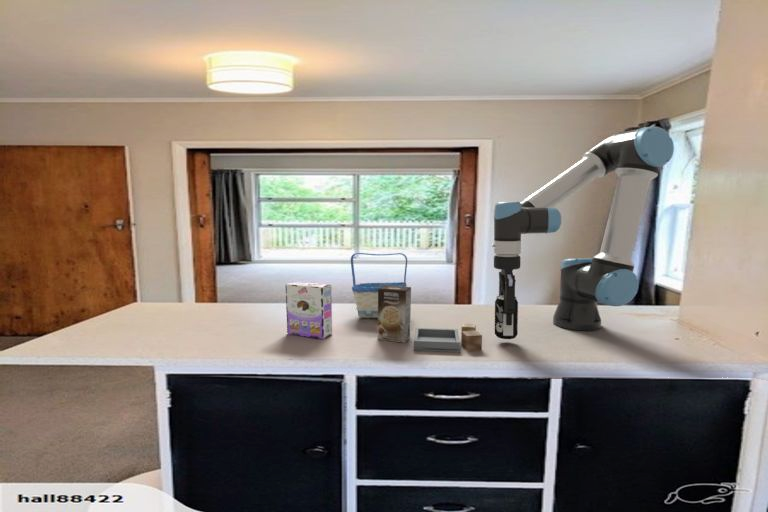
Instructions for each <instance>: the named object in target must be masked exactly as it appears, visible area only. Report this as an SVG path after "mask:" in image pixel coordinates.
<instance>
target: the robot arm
mask: <svg viewBox="0 0 768 512" xmlns="http://www.w3.org/2000/svg"><path fill="white" fill-rule="evenodd" d="M674 148H675V147H674V140H673V138H672V137H671V135H670V134H669V132H668V131H667V130H665V129H664V128H662V127H660V126H643V127H641V128H636V129H632V130H628V131H622V132H617V133H615V134H612V135H610V136H608V137H606V138H605V139H604V140H602V141H600V142H599V143H597V144H596V145H595V146H594V147H591V149H589V150H587V151H586V152H585V153H583V155H582V156H581V159H580V160H579V161H578V162H576V163H574V164H573V165H572V166H570V167H569V168H567V169H566V170H565V171H563V172H562V173H560V174H559V175H558V176H556V177H555V178H554V179H552V180H551V181H549V182H548V183H547V184H545V185H544V186H541V188H539V189H537V190H536V191H535V192H534V193H532V194H531V195H529V196H528V197H527V198H525V199H524V200H522V201H498V202H496V203H495V205H494V211H493V225H494V226H493V231H494V233H493V234H494V235H493V237H494V238H493V239H494V240H493V242H494V243H492V244H491V246H492V248H493V253H494V254H495V255H494V256H493V268H494V269H497V270H501V271H499V272H498V278H499V279H498V280H499V281H498V296H499V295H504V312H502V314H503V336H513V314H514V313H515V297H516V281H517V280H516V277H515V276H516V275H515V274H513V273H514V272H513V271H514V270H519V269H520V268H521V256H520V254H521V253H522V251H521V250H522V235H525V234H526V235H527V234H528V235H529V234H551V233H556V232H558V230H560V228H561V225H562V215H561V212H560V210H558V208H556V207H557V206H558V205H559V204H561V203H562V202H564V201H565V200H566V199H568V198H569V197H571V196H573V195H574V194H575V193H577V192H578V191H580V190H581V189H582V188H584V187H585V186H587V185H588V184H589V183H590V182H592V181H594V180H595V179H601V178H603V177H604V176H606V175H608V174H609V173H612V172H614V173H616V175H617V177H618V179H617V182H616V186H615V190H614V194H613V198H612V202H611V206H610V209H609V210H610V211H609V215H608V217H607V222H606V225H605V226H606V227H605V230H604V234H603V237H602V238H603V239H602V242H601V247H600V249H599V252H598V253H597V254H595V255H594V256H593V257H592V258H591V257H588V258H587V257H585V258H584V257H583V258H580V257H579V258H565V259H563V260H562V261H561V267H560V271H559V272H560V281H559V282H560V284H559V285H560V286H559V289H560V290H559V302H558V304H557V305H556V309H555V311H554V313H553V317H552V323H553V324H554V325H555V326H557V327H560V328H564V329H568V330H574V331H583V332H584V331H585V332H586V331H597V330H599V329H601V328H602V319H601V315H600V311H599V307H598V304H597V303H600V304H601V305H604V306H610V307H621V306H622V307H623V306H625V305H626V304H627V303H629V302H631V301H632V300H633V299H634V297H635V296H636V295H637V293H638V290H639V280H638V279H637V278H638V277H637V275H636V273H634V268H635V263H633V261H632V260H631V258H632V257H631V256H632V254H633V249H634V245H635V241H636V238H637V234H638V230H639V227H640V223H641V219H642V214H643V211H644V207H645V203H646V199H647V195H648V190H649V187H650V183H651V181H652V180H653V179H655V178H657V177H658V175H659V172H660V168H661V167H663V166H665V165H666V164H667V163H668V162H670V160H671V159H672V157H673V155H674Z"/></svg>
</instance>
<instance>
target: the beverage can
mask: <svg viewBox="0 0 768 512" xmlns="http://www.w3.org/2000/svg"><path fill="white" fill-rule="evenodd" d="M502 312H504V295H499V294H498V295H496V299H495V300H494V335H495V336H496V337H497V338H499V339H502V340H513V339H515V338H516V337H517V336H518V333H519V332H518V328H519V327H518V320H519V302H518V299H517V296H515V313H514V314H513V336H503V314H502Z"/></svg>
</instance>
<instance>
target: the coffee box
mask: <svg viewBox="0 0 768 512" xmlns="http://www.w3.org/2000/svg"><path fill="white" fill-rule="evenodd" d="M411 301H412V287H411V286H406V287H404V286H393V285H383V286H381V287H380V288H378V318H377V337H376V338H377V340H379V339H380V340H382V341H387V340H388V341H390V342H397V343H398V342H399V343H406V342H407V341H408V339H409V338H410V337H411V313H412V312H411V305H412V304H411Z"/></svg>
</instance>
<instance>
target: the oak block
mask: <svg viewBox="0 0 768 512" xmlns="http://www.w3.org/2000/svg"><path fill="white" fill-rule="evenodd" d="M462 331H477V324H476V323H469V322H463V323H462V325H461V337H460V338H461V339H460V340H462Z"/></svg>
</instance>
